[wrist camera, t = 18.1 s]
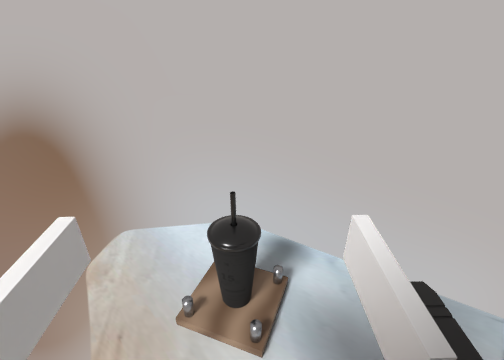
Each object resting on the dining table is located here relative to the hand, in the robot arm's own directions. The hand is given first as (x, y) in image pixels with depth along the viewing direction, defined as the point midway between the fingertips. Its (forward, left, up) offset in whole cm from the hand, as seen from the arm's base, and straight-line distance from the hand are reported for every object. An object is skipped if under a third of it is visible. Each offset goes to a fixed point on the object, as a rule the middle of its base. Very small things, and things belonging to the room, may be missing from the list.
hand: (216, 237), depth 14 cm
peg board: (+8, -19, -32) cm, 38 cm away
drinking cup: (+8, -20, -31) cm, 37 cm away
